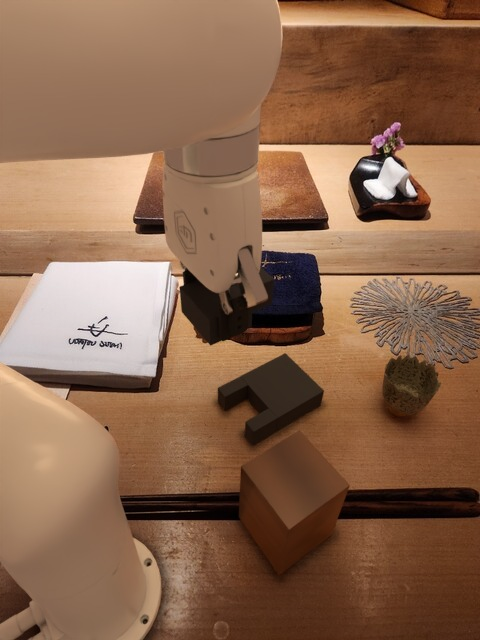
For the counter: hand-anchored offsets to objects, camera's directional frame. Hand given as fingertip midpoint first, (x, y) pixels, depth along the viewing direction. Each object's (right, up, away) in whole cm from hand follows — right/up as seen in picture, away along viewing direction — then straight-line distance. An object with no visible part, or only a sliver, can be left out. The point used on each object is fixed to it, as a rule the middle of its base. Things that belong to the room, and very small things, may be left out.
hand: (215, 314), depth 48 cm
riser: (+8, -25, +8) cm, 28 cm away
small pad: (+2, 0, +1) cm, 2 cm away
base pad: (+7, -13, +21) cm, 26 cm away
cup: (+26, -14, +21) cm, 36 cm away
